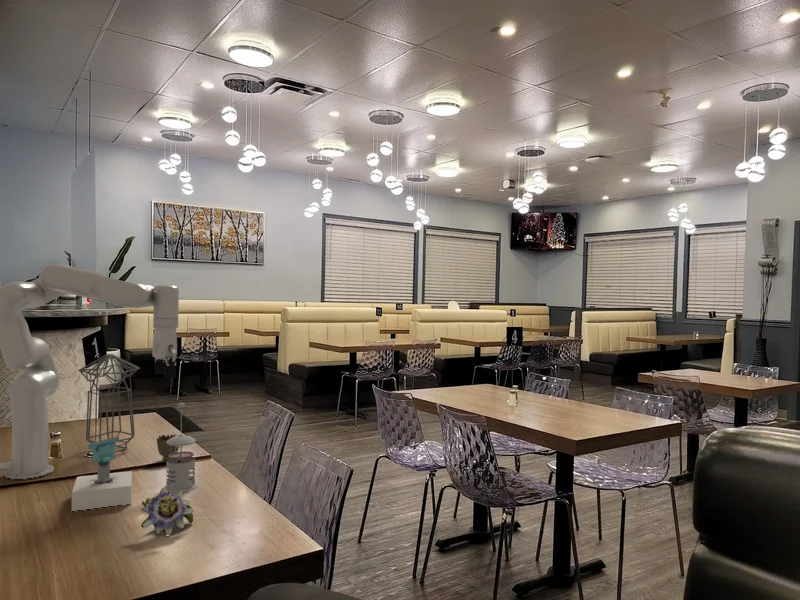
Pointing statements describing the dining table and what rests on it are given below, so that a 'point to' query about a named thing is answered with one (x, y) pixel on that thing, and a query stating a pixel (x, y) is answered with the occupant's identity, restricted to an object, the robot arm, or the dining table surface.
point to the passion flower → (167, 512)
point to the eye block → (102, 491)
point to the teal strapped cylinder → (104, 457)
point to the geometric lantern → (106, 359)
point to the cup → (165, 446)
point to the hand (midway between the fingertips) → (164, 376)
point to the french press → (180, 472)
